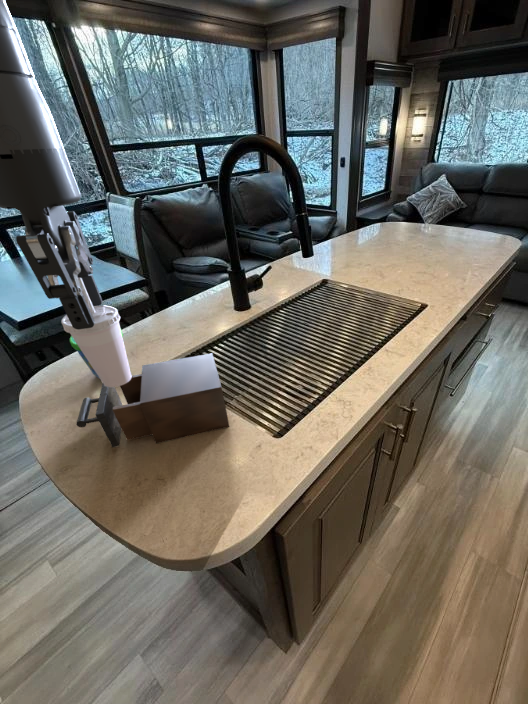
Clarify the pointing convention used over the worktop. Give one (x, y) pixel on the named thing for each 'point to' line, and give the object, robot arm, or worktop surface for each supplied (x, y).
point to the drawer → (117, 412)
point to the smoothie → (102, 343)
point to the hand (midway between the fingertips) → (89, 315)
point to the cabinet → (182, 397)
